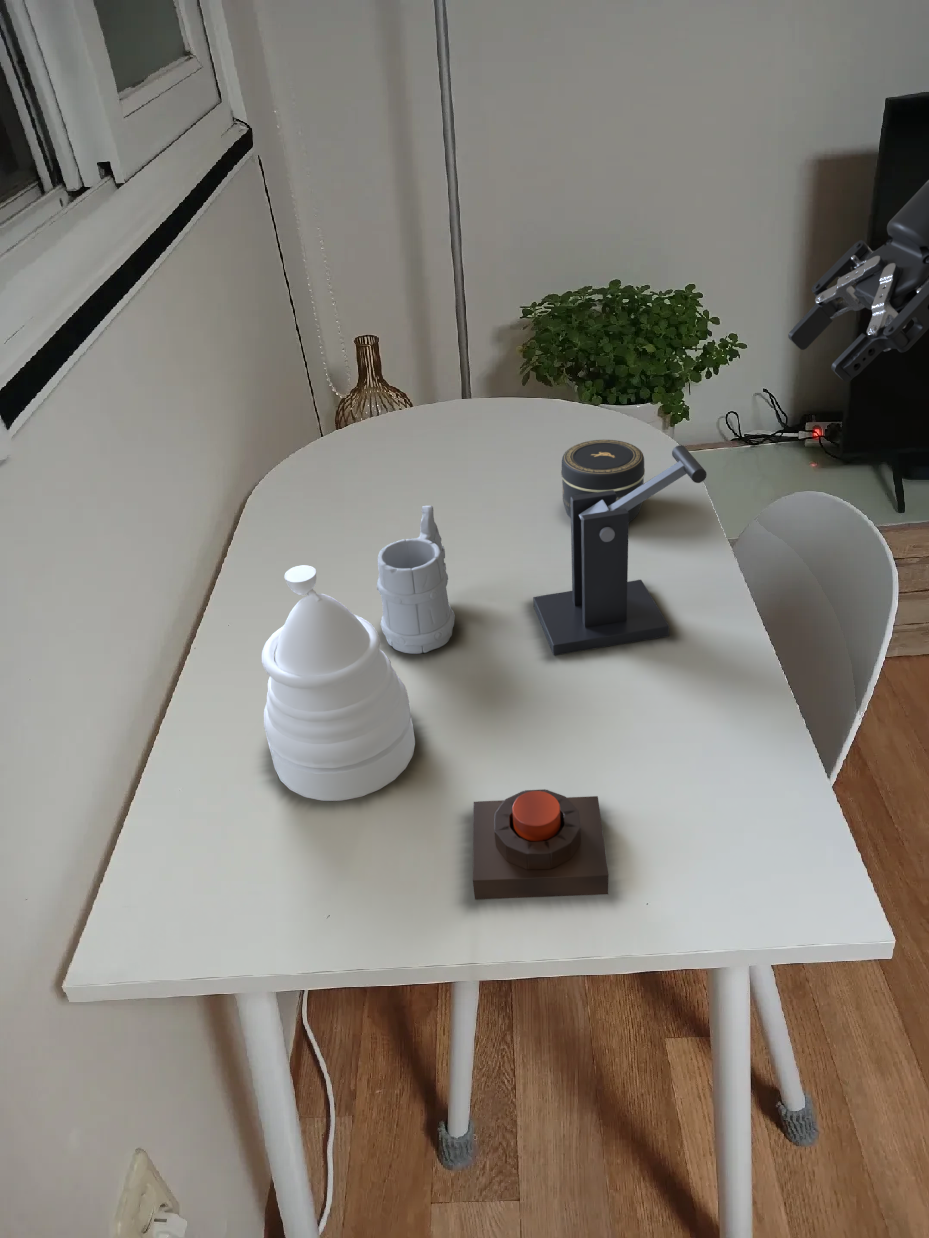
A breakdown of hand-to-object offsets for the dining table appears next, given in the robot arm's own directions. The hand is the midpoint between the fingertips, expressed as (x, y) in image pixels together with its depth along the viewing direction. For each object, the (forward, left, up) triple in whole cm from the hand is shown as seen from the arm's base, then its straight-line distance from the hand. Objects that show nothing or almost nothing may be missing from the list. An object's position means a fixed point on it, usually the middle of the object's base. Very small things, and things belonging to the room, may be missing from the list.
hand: (815, 359), depth 87 cm
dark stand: (+10, +18, -25) cm, 32 cm away
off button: (-10, +43, -22) cm, 50 cm away
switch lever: (+7, +14, -12) cm, 20 cm away
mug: (+22, +31, -26) cm, 46 cm away
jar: (+26, +1, -26) cm, 36 cm away
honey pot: (+11, +48, -26) cm, 56 cm away
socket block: (-10, +43, -25) cm, 51 cm away
